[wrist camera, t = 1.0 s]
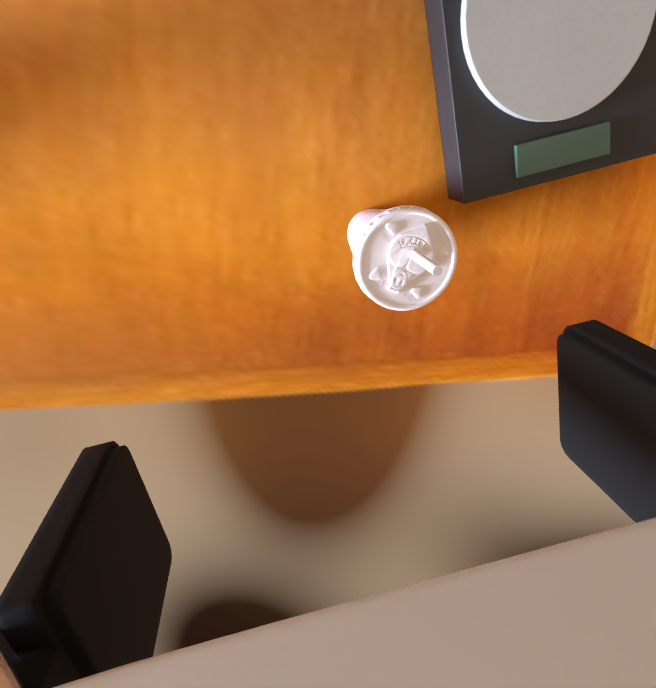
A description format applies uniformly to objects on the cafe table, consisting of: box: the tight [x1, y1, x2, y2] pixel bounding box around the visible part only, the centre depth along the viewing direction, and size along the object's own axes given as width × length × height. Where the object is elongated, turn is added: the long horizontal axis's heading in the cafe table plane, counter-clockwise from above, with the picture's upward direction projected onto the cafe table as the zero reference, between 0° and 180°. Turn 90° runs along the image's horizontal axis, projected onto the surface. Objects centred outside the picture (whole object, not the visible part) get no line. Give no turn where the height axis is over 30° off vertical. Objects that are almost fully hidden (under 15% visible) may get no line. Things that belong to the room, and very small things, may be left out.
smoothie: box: [347, 205, 457, 311], centre depth 33 cm, size 6×6×14 cm
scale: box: [425, 0, 656, 203], centre depth 34 cm, size 18×15×4 cm
